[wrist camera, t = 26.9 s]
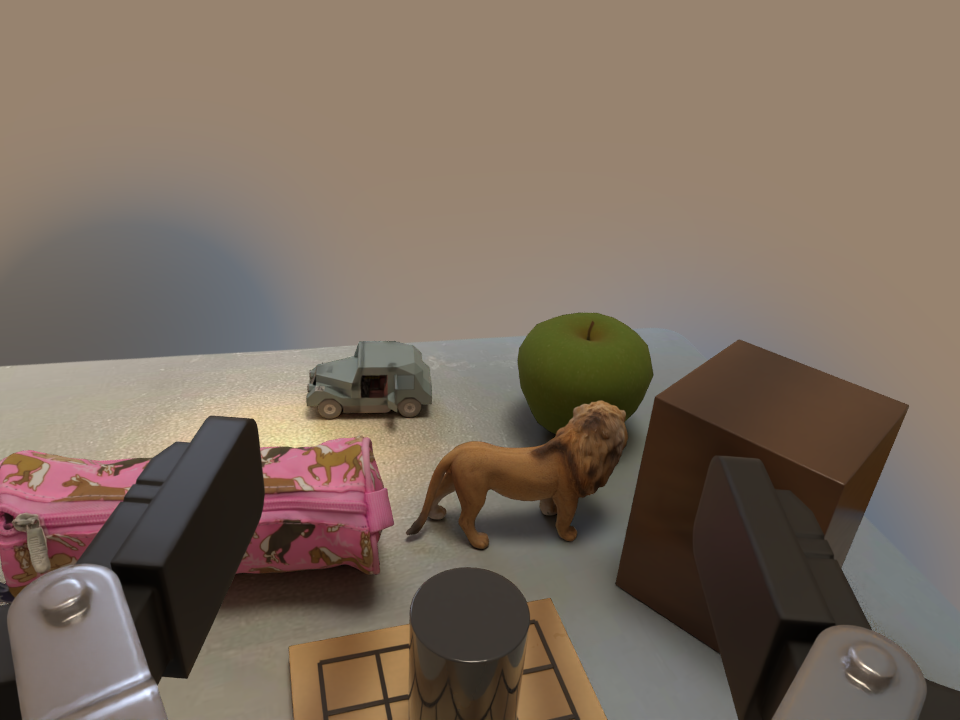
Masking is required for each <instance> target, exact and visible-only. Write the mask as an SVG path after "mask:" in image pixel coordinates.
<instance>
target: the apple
mask: <svg viewBox="0 0 960 720" xmlns="http://www.w3.org/2000/svg"><path fill="white" fill-rule="evenodd" d="M518 369H519V378H520V386H521V389H522V391H523V393H524V396H525V398H526V400H527V403H528V405H529V407H530V410H531V412H532V414H533V415H534V417H535V419H536V421H537V422H538V423H539V424H540V425H542V426H543V427H544V428H546V429H547V430H548V431H550V432H552V433H554V434H556V433H557V431H558V430H559V429H560V428H563V427H565V426H566V425H567V424H568V423H569V421H570V420H571V419H572V418H573V411H574V409H575V408H576V407H579V406H581V405H583V404H588V405H589V404H590V403H591V402H597V401H604V402H607V403H609V404H610V405H614V406H617V408H618V409H619V410H624V411H625V412H626V418H625V421H626V420H627V419H628V418H629V417H630V416H631V415H632V414H633V413H634V412H635V411H636V410H637V408H638V407H639V405H640V403H641V402H642V400H643V398H644V396H645V394H646V391H647V389H648V387H649V384H650V382H651V380H652V378H653V369H652V364H651V358H650V353H649V349H648V345H647V344H646V343H645V342H644V340H643V339H642V338H641V337H640V336H639V335H638V334H637V333H636V332H635V331H634V330H632V329H631V328H630V327H628V326H627V325H625V324H624V323H622V322H620V321H618V320H617V319H615V318H613V317H609V316H605V315H602V314H599V313H574V314H566V315H562V316H558V317H555V318H552V319H549V320H547V321H544V322H541V323H539V324H537V325H536V326H535V327H534V328H533V329H532V330H531V332H530V333H529V334H528V335H527V337H526V338H525V340H524V342H523V343H522V345H521V346H520V348H519V354H518ZM625 421H624V422H625Z"/></svg>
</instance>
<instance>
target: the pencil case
mask: <svg viewBox="0 0 960 720" xmlns="http://www.w3.org/2000/svg"><path fill="white" fill-rule="evenodd" d="M260 452H261V460H262V469H263V477H264V486H265V498H264V506H263V511H262V515H261V519H260V521H259V524H258V526H257V528H256V530H255V533H254V535H253V537H252V539H251V541H250V543H249V546H248V548H247V550H246V552H245V554H244V557H243V559H242V561H241V563H240V565H239V567H238V570H237V572H236V574H237V573H270V572H275V573H281V572H293V571H300V570H308V569H324V568H331V567H336V566H339V565H342V564H347V565H350V566H352V567H355V568H357V569H358V570H360V571H362V572H363V573H365V574H367V575H371V574H375V575H377V574H379V573H380V568H379V565H380V563H379V558H378V548H377V543H378V541H379V538H380V535H381V532H382V530H383V529H385V528H388V527H390V526H393V525H394V521H393V516H392V511H391V507H390V502H389V498H388V491H387V488H384V485H383V482H382V479H381V477H380V474H379V471H378V467H377V464H376V461H375V458H374V455H373V449H372V441H371V440H370V439H369V438H367V437H366V438H364V437H363V436H357V437H354V438H340V439H335V440H329V441H326V442H324V443H322V444H320V445H318V446H315V447H300V448H292V447H261V448H260ZM151 459H152V458H132V459H122V460H110V461H96V460H88V459H74V458H66V457H62V456H58V455H52V454H46V453H40V452H36V451H31V450H28V451H21V452H17V453H14V454H11V455H10V456H8V457H6V458H4V459H3V460H1V461H0V557H1V564H2V570H3V574H4V577H5V580H6V583H5V584H3V583H0V602H5V603H10V604H11V603H12V602H13V600H14V599H15V597H16V596H17V595H18V594H19V593H20V592H21V591H22V590H23V589H24V588H25V587H26V586H27V585H29V584H30V583H31V582H32V581H34V580H36V579H37V578H39V577H40V576H42V575H44V574H46V573H48V572H51V571H53V570H56V569H58V568H62V567H65V566H70V565H75V564H76V562H77V561H78V559H79V558H80V557H81V555H82V554H83V553H84V551H85V550H86V548H87V547H88V546H89V544H90V543H91V542H92V540H93V539H94V537H95V536H96V535H97V533H98V532H99V530H100V529H101V528H102V526H103V525H104V524H105V522H106V521H107V519H108V518H109V517H110V515H111V514H112V513H113V511H114V510H115V508H116V507H117V506H118V504H119V503H120V502H123V500H124V496H125V495H126V493H127V492H128V490H129V489H130V488H131V486H132V485H133V484H136V479H137V478H138V477H139V475H140V474H141V472H142V471H143V470H144V468H145V467H146V466H147V464H148V463H149V461H150V460H151Z"/></svg>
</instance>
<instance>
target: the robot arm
mask: <svg viewBox="0 0 960 720" xmlns="http://www.w3.org/2000/svg"><path fill="white" fill-rule="evenodd" d="M264 498H265V486H264V477H263V469H262V460H261V452H260V443H259V435H258V428H257V424H256V422H255V420H254V419H249V418H236V417H223V416H209V417H208V418H207V419H206V420H205V421H204V423H203V424H202V426H201V427H200V429H199V430H198V432H197V433H196V435H195V436H194V438H193V439H192V441H191V442H190V443H188V442H175V443H174V444H172V445H171V446H169V447H168V448H166V449H165V450H163V451H162V452H161V453H159V454H158V455H156V456H155V457H153V458H152V459H151V460H150V461H149V463H148V464H147V466H146V467H145V468H144V470H143V471H142V472H141V474H140V475H139V477H138V478H137V479H136V484H133V485H132V486H131V488H130V489H129V490H128V492H127V493H126V495H125V496H124V500H123V502H120V503H119V504H118V506H117V507H116V508H115V510H114V511H113V513H112V514H111V515H110V517H109V518H108V519H107V521H106V522H105V524H104V525H103V526H102V528H101V529H100V530H99V532H98V533H97V535H96V536H95V537H94V539H93V540H92V542H91V543H90V544H89V546H88V547H87V548H86V550H85V551H84V553H83V554H82V555H81V557H80V558H79V559H78V561H77V562H76V564H75V565H70V566H65V567H62V568H58V569H56V570H53V571H51V572H48V573H46V574H44V575H42V576H40V577H39V578H37V579H36V580H34V581H32V582H31V583H30V584H29V585H27V586H26V587H25V588H24V589H23V590H22V591H21V592H20V593H19V594H18V595H17V596H16V597H15V599H14V600H13V602H12V603H11V604H7V605H2V606H0V720H168V718H167V715H166V712H165V709H164V706H163V703H162V700H161V697H160V694H159V691H158V688H157V685H158V683H159V681H160V679H161V677H173V678H185V679H187V678H188V676H189V674H190V672H191V670H192V668H193V665H194V663H195V661H196V659H197V657H198V654H199V652H200V650H201V648H202V646H203V644H204V641H205V639H206V637H207V635H208V633H209V631H210V628H211V626H212V624H213V622H214V620H215V617H216V615H217V613H218V611H219V609H220V607H221V604H222V602H223V600H224V598H225V596H226V594H227V591H228V589H229V587H230V585H231V583H232V580H233V578H234V576H235V574H236V572H237V570H238V567H239V565H240V563H241V561H242V559H243V557H244V554H245V552H246V550H247V548H248V546H249V543H250V541H251V539H252V537H253V535H254V533H255V530H256V528H257V526H258V524H259V521H260V519H261V515H262V511H263V506H264ZM824 536H825V535H824V533H823V531H822V529H821V527H820V525H819V523H818V521H817V519H816V517H815V515H814V513H813V512H812V511H811V510H810V509H809V508H808V507H807V506H806V505H805V504H804V503H803V502H802V501H801V500H800V499H799V498H798V497H797V496H796V495H795V494H793V493H792V492H791V491H790V490H779V489H775V488H774V486H773V484H772V482H771V480H770V477H769V475H768V473H767V471H766V469H765V466H764V464H763V462H762V461H761V460H760V459H756V458H743V457H730V456H717V455H716V456H714V457H713V458H712V460H711V462H710V465H709V468H708V472H707V476H706V480H705V483H704V487H703V491H702V495H701V499H700V502H699V506H698V510H697V514H696V517H695V522H694V527H693V553H694V558H695V562H696V566H697V570H698V573H699V577H700V581H701V584H702V588H703V592H704V595H705V599H706V603H707V606H708V610H709V614H710V617H711V621H712V625H713V628H714V632H715V636H716V639H717V643H718V647H719V650H720V654H721V658H722V661H723V665H724V669H725V672H726V676H727V680H728V683H729V687H730V691H731V694H732V698H733V702H734V705H735V709H736V713H737V716H738V720H960V691H957V690H954V689H951V688H948V687H945V686H942V685H939V684H937V683H934V682H932V681H929V680H927V679H925V678H924V676H923V674H922V672H921V670H920V668H919V667H918V665H917V664H916V662H915V661H914V660H913V659H912V658H911V656H910V655H909V654H908V653H907V652H906V651H904V650H903V649H902V648H901V647H900V646H899V645H897V644H896V643H894V642H893V641H892V640H890V639H888V638H887V637H885V636H883V635H881V634H879V633H877V632H875V631H872V629H871V627H870V625H869V623H868V621H867V619H866V617H865V615H864V613H863V611H862V609H861V607H860V605H859V603H858V601H857V599H856V597H855V595H854V593H853V591H852V589H851V587H850V585H849V583H848V581H847V579H846V577H845V575H844V573H843V571H842V569H841V567H840V565H839V563H838V561H837V560H834V553H833V551H832V549H831V547H830V545H829V543H828V541H827V540H825V539H824Z"/></svg>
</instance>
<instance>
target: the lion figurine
mask: <svg viewBox="0 0 960 720" xmlns="http://www.w3.org/2000/svg"><path fill="white" fill-rule="evenodd" d="M625 418H626V412H625V411H624V410H619V409H618V408H617V406H614V405H610V404H609V403H607V402H604V401H597V402H591V403H590V404H589V405H588V404H583V405H581V406H579V407H576V408H575V409H574V411H573V418H572V419H571V420H570V421H569V423H568V424H567V425H566V426H565V427H563V428H560V429H559V430H558V431H557V433H556V436H555V438H553V439H552V440H550V441H549V442H547V443H546V444H544V445H541V446H536V447H527V448H504V447H498V446H495V445H491V444H488V443H485V442H478V441H472V442H467V443H463V444H461V445H458V446H457V447H455V448H454V449H453V450H452V451H451V452H449V453H448V454H447V455H446V456H445V457H444V458H443V459H442V460H441V461H440V463H439V464H438V466H437V467H436V469H435V471H434V473H433V476H432V478H431V481H430V484H429V488H428V491H427V495H426V499H425V503H424V506H423V509H422V511H421V513H420V515H419V517H418V519H417V520H416V521H415V522H414V523H413V525H412V526H411V528H410V529H408V530H407V531H406V534H407V535H412V534H417V533H418V532H419V531H420V530H421V529H422V527H423V525H424V523H425V522H426V520H427V517H428V516H429V517H430V518H432V519H442V518H443V517H444V516H445V515H446V509H445V508H443V507H442V506H439V505H438V503H439V502H440V500H441V499H442V498H443V497H445V496H446V495H448V494H450V493H452V492H454V491H456V493H457V496H458V498H459V501H460V504H461V509H462V511H461V515H460V518H459V525H460V527H461V528H462V529H463V531H464V533H465V534H466V536H467V538H468V540H469V542H470V543H471V544H472V545H473V546H474V547H476V548H479V549H484V548H486V547H487V546H488V545H489V539H488V535H487V534H486V533H483V532H477V531H476V529H475V519H476V517H477V515H478V513H479V511H480V510H481V508H482V507H483V505H484V503H485V499H486V494H487V492H488V490H490V489H492V490H494V491H496V492H497V493H499V494H501V495H502V496H505V497H508V498H510V499H515V500H521V501H536V500H541V501H540V509H541V511H542V513H543V514H545V515H555V514H557V521H556V524H555V525H556V528H557V531H558V534H559V536H560V537H561V538H563V539H564V540H566V541H573V540H574V539H575V538H576V536H577V531H576V529H575V528H574V527H573V526H570V524H571V522H572V519H573V517H574V514H575V512H576V509H577V504H578V499H579V497H581V498H583V497H585V496H587V495H591V494H594V493H595V492H596V491H597V489H598V488H599V487H603V486H605V484H606V483H607V481H608V479H609V477H610V475H611V474H612V472H613V470H614V467H615V466H616V465H617V464H618V462H619V459H620V457H621V454H622V450H623V449H624V448H625V447H626V444H627V440H628V434H627V430H626V427H625V424H624V421H625ZM445 472H446V474H445ZM444 474H445V475H444Z"/></svg>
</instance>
